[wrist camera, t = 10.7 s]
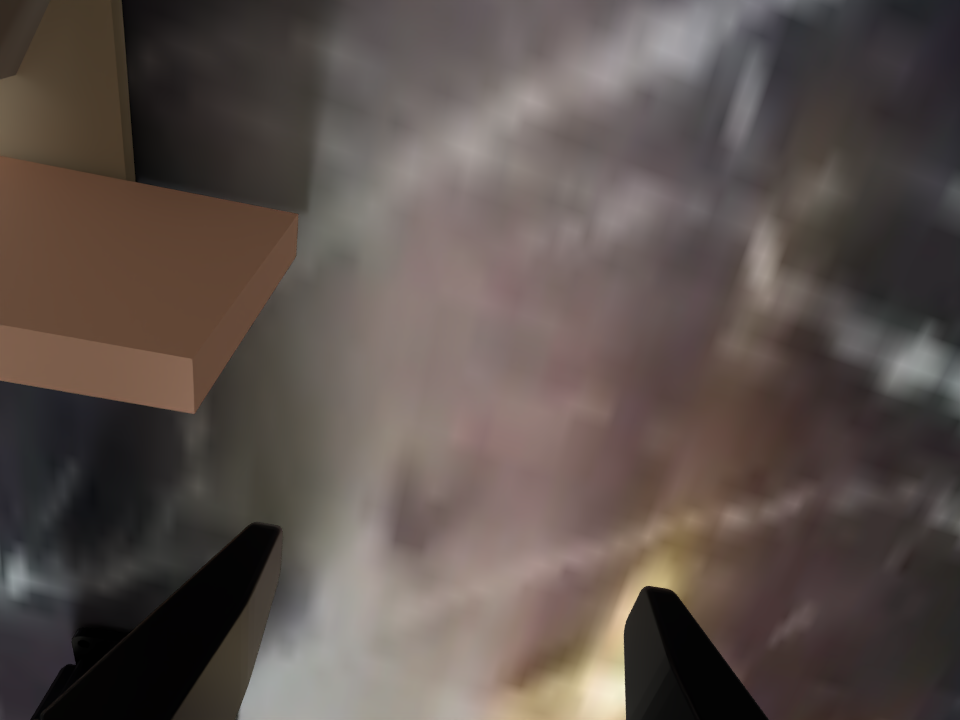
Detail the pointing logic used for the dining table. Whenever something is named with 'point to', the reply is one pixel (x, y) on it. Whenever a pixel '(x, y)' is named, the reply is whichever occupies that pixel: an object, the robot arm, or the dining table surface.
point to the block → (129, 283)
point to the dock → (65, 86)
